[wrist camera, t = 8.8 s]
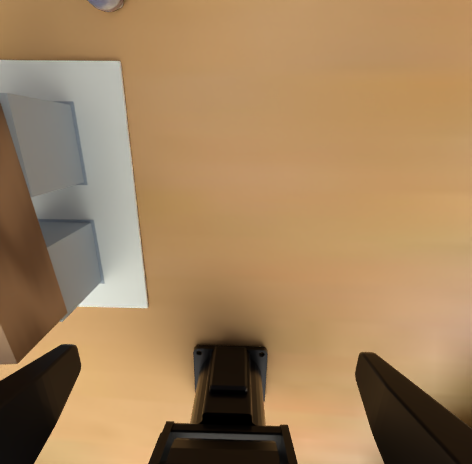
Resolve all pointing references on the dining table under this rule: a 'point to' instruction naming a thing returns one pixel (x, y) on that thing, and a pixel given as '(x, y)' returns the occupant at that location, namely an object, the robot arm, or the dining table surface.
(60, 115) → the tilted pale grey prism
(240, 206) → the dining table surface
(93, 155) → the white flat rectangular plate
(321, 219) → the dining table surface
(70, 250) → the pillar
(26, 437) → the robot arm
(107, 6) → the flask
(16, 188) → the lintel
